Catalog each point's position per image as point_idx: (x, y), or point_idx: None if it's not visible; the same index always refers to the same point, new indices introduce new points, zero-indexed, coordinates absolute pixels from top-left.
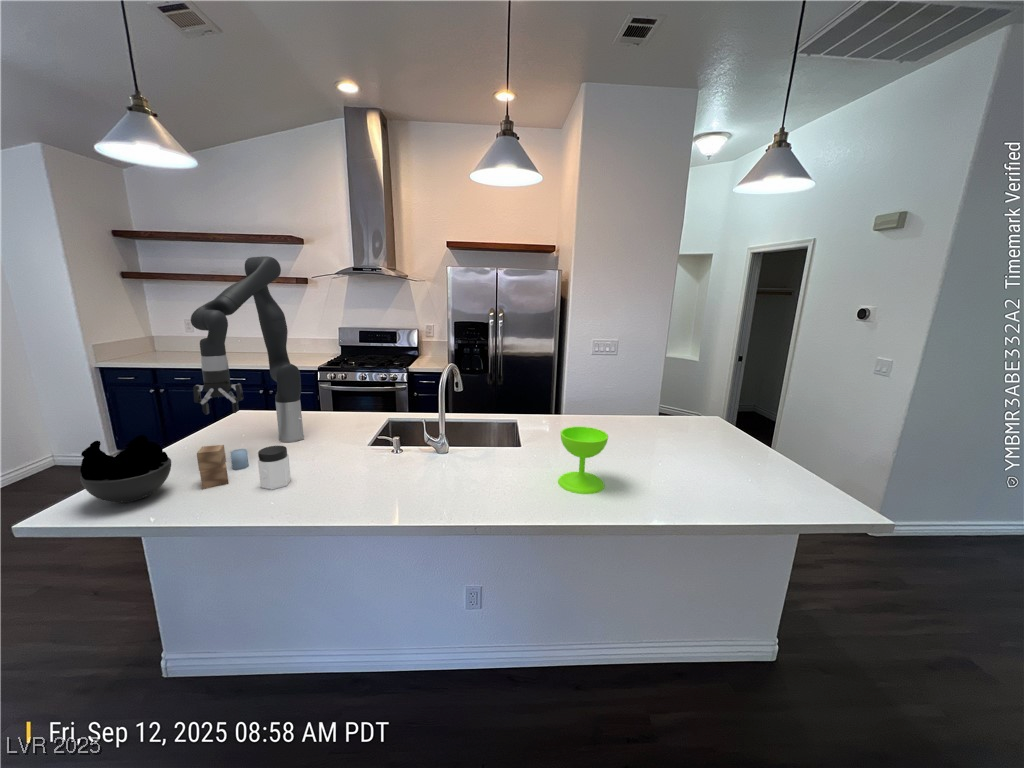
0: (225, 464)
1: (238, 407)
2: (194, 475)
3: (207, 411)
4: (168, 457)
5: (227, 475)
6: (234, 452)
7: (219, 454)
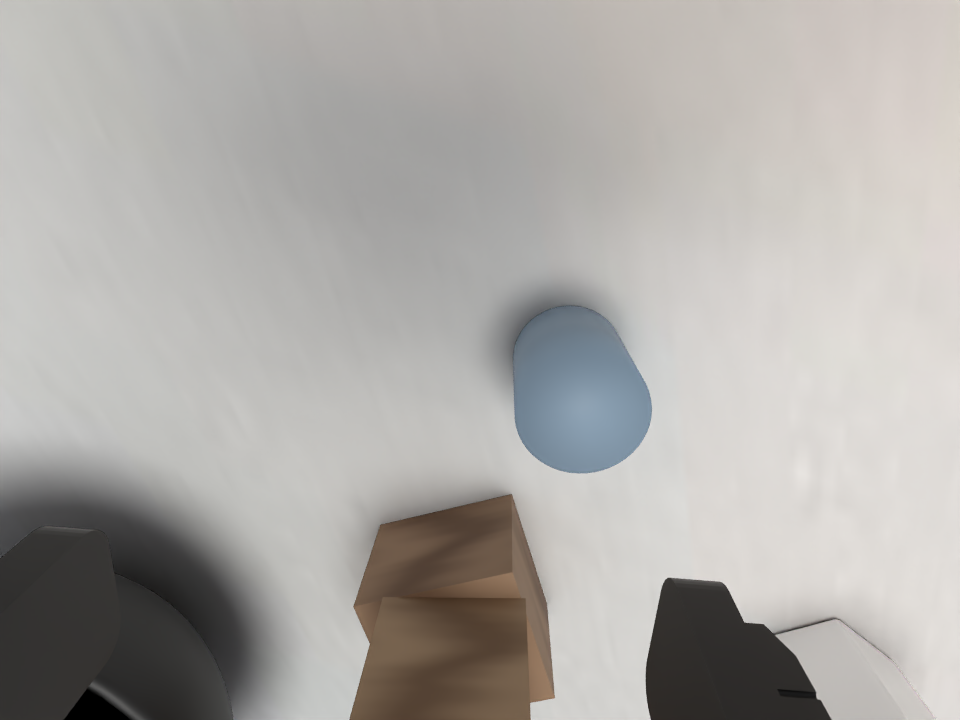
0: (536, 654)
1: (813, 699)
2: (296, 419)
3: (74, 656)
4: (138, 713)
5: (549, 646)
6: (550, 428)
7: None
